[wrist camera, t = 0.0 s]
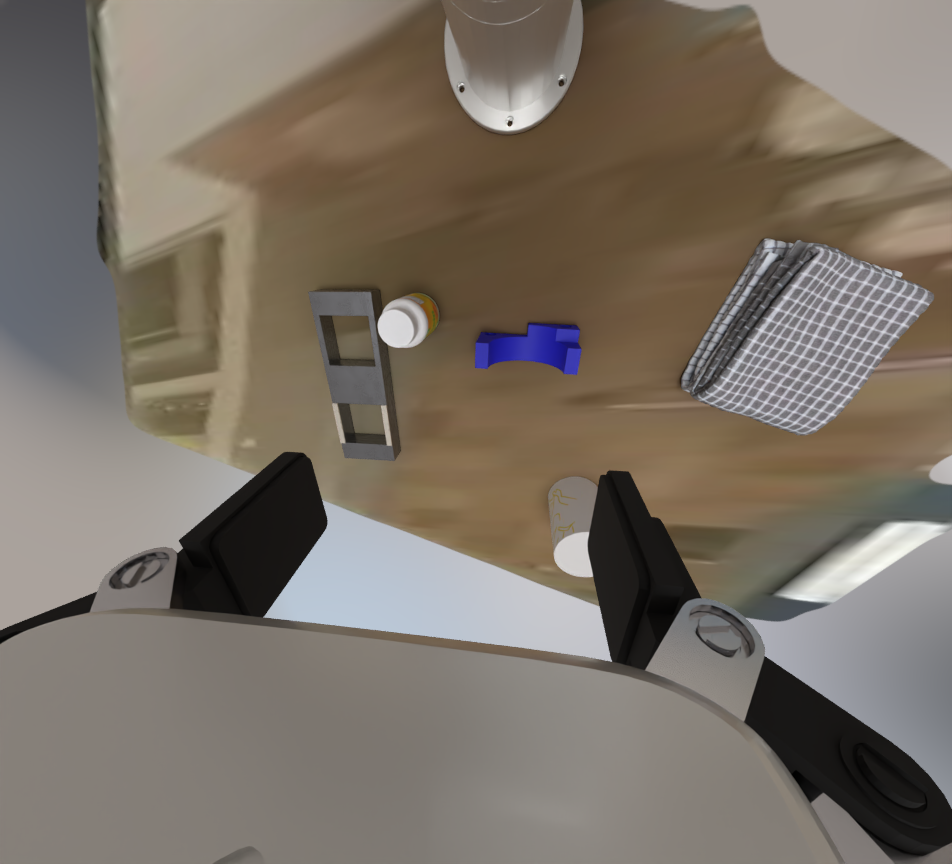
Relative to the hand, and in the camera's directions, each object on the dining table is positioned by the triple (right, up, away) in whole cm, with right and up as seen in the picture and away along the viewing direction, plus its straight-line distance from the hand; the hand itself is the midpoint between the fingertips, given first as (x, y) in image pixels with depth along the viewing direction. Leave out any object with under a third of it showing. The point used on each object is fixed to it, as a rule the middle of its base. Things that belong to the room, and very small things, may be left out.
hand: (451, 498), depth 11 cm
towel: (+36, +14, +30) cm, 49 cm away
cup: (+17, -8, +44) cm, 48 cm away
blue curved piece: (+7, +14, +34) cm, 37 cm away
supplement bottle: (-7, +18, +34) cm, 39 cm away
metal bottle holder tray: (-15, +10, +39) cm, 43 cm away
